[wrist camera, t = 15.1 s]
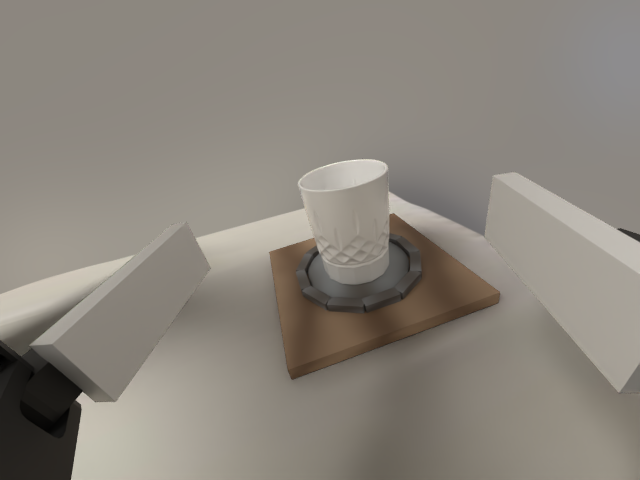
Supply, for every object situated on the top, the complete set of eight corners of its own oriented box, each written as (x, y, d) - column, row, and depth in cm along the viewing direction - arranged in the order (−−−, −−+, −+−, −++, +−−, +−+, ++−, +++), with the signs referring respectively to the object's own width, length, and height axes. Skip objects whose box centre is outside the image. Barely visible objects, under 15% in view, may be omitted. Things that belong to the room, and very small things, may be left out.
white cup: (305, 272, 28) (280, 185, 24) (351, 238, 33) (338, 158, 28) (363, 301, 23) (346, 196, 18) (410, 256, 27) (406, 160, 22)
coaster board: (292, 379, 20) (284, 363, 19) (272, 259, 35) (267, 246, 34) (498, 302, 22) (501, 284, 21) (393, 220, 37) (392, 208, 36)
